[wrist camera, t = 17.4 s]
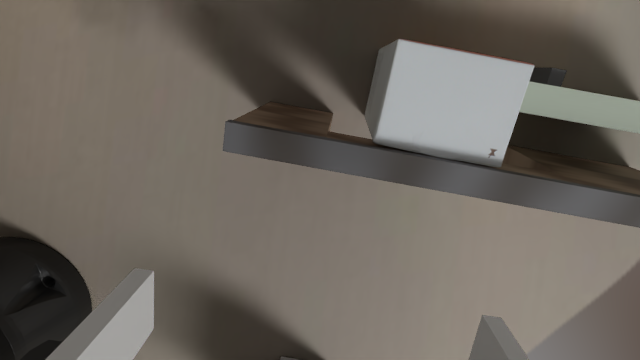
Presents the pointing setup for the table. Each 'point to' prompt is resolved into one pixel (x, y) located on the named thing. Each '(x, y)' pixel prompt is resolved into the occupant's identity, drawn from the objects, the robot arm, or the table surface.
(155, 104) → the table surface
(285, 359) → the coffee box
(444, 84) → the small box
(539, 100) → the sliding door
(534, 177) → the wall frame
